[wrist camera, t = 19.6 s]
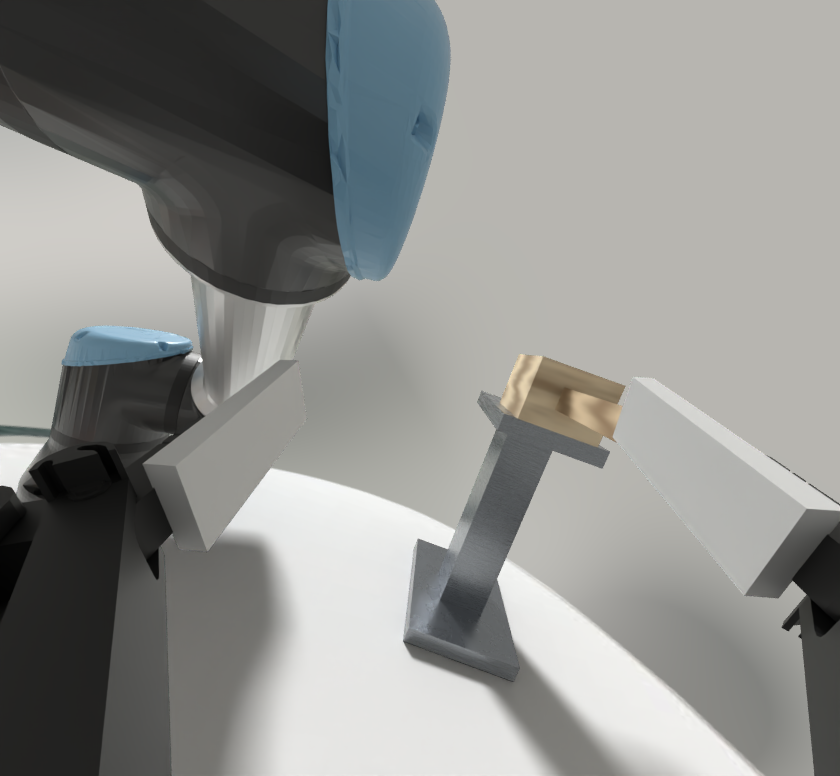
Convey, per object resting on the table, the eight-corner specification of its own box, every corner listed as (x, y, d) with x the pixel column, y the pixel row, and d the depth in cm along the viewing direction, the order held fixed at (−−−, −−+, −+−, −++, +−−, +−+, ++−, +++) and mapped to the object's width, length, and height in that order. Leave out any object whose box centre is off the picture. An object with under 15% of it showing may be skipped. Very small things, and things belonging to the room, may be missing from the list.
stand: (513, 681, 39) (619, 455, 35) (403, 641, 39) (495, 410, 35) (489, 576, 56) (557, 418, 52) (414, 548, 57) (475, 388, 52)
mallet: (770, 556, 16) (841, 431, 16) (603, 496, 17) (663, 367, 16) (561, 425, 44) (582, 377, 43) (499, 402, 44) (519, 354, 43)
